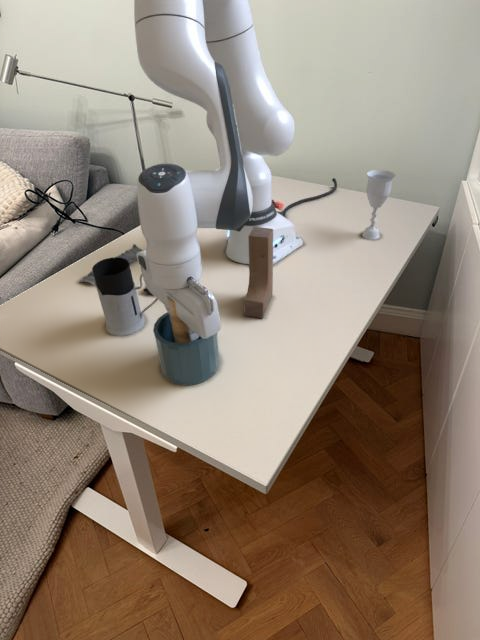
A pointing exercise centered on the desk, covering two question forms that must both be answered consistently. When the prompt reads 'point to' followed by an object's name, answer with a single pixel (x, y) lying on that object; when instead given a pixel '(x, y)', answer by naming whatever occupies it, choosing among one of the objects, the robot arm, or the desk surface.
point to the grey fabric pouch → (127, 255)
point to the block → (146, 290)
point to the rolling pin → (178, 325)
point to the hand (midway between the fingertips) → (184, 330)
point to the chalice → (377, 197)
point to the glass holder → (119, 296)
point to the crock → (185, 355)
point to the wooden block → (259, 272)
